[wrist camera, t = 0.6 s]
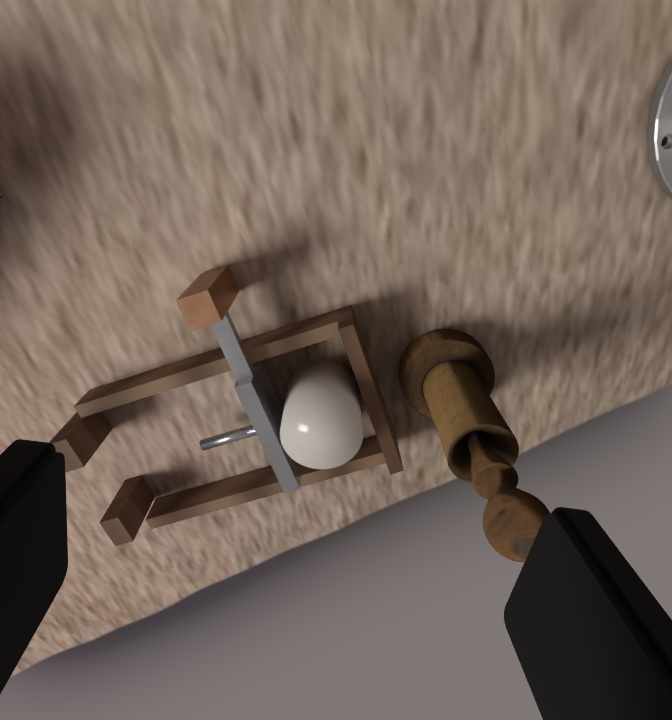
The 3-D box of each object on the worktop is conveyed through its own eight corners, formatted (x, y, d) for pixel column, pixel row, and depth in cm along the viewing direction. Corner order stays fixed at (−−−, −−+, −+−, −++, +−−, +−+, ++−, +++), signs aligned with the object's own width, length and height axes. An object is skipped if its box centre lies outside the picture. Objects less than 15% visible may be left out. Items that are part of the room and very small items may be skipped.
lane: (350, 305, 36) (353, 330, 31) (396, 440, 40) (405, 479, 36) (71, 396, 38) (36, 431, 34) (145, 512, 43) (123, 557, 39)
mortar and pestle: (393, 402, 39) (438, 598, 23) (405, 324, 36) (466, 481, 20) (477, 409, 39) (582, 606, 23) (495, 332, 37) (629, 492, 20)
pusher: (227, 265, 34) (207, 289, 29) (307, 451, 41) (304, 501, 35) (140, 295, 35) (104, 324, 30) (232, 473, 41) (217, 525, 36)
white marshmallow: (345, 350, 37) (348, 388, 32) (367, 411, 39) (373, 456, 34) (276, 372, 38) (267, 412, 32) (301, 431, 40) (297, 478, 34)
